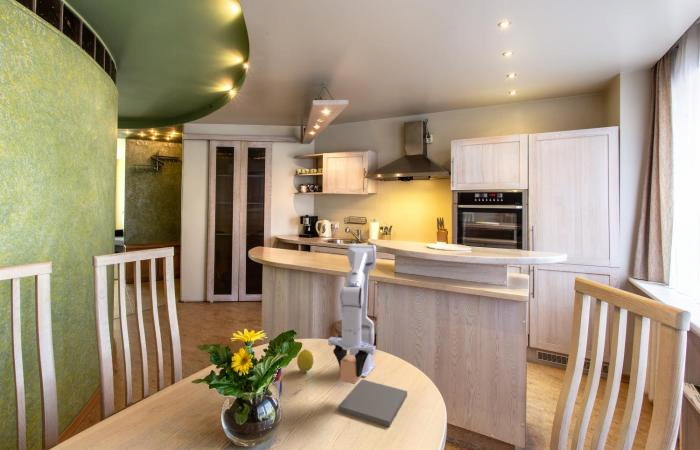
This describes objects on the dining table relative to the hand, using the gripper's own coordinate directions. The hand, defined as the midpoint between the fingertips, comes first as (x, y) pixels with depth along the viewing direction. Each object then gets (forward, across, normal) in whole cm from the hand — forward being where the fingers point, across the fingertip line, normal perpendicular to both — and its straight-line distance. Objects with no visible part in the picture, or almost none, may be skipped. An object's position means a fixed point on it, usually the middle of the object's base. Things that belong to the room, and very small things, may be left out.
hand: (351, 373), depth 96 cm
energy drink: (+9, -22, -8) cm, 25 cm away
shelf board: (+8, +6, +2) cm, 11 cm away
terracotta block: (+2, 0, 0) cm, 2 cm away
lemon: (+9, -22, +8) cm, 25 cm away
